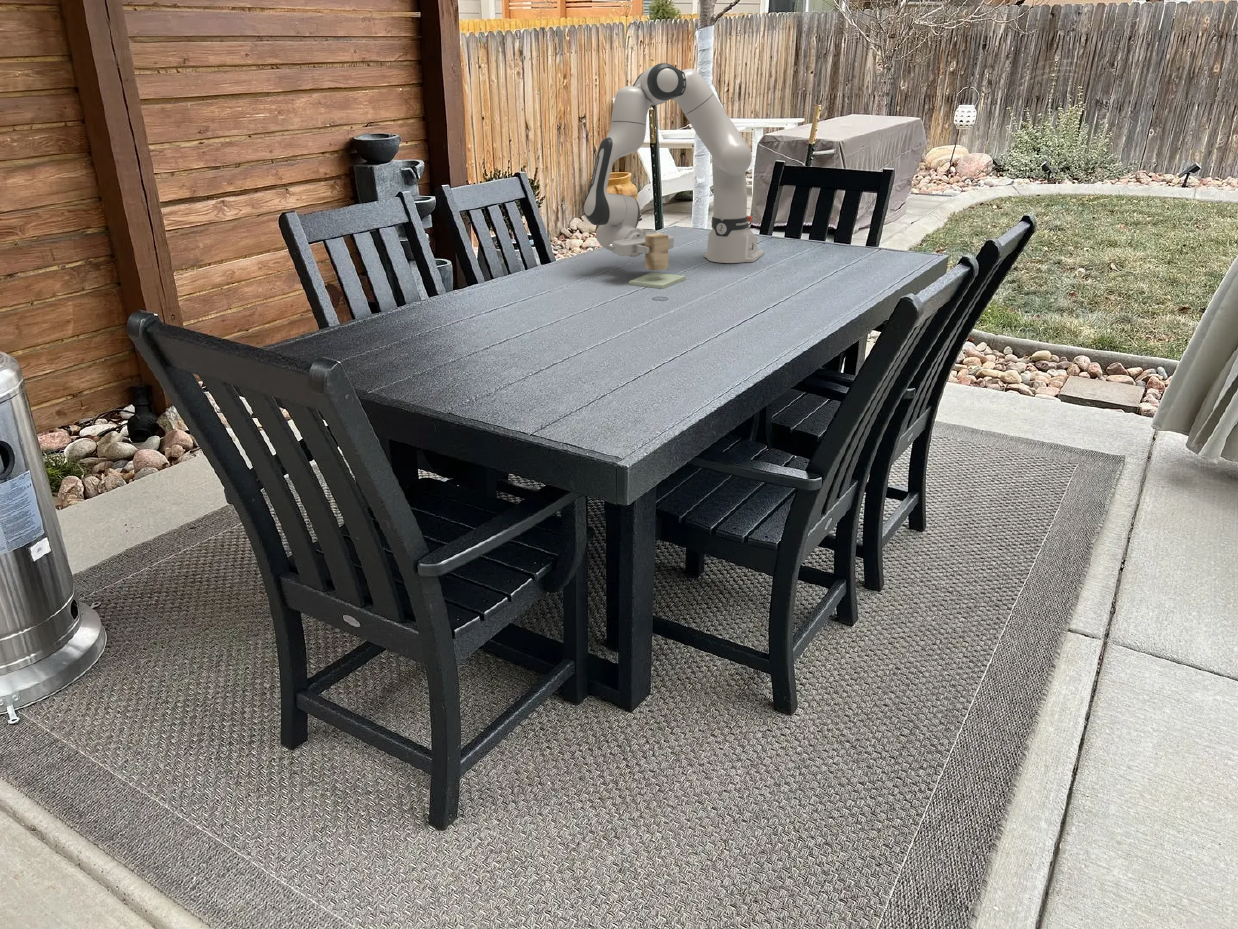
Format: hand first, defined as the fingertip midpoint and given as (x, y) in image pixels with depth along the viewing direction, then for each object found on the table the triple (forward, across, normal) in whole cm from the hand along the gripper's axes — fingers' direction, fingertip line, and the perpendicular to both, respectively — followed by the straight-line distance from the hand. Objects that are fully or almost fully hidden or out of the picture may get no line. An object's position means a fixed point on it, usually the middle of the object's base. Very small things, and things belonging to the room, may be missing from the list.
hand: (658, 249), depth 279 cm
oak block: (-1, 0, +6) cm, 6 cm away
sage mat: (-1, 0, +10) cm, 10 cm away
